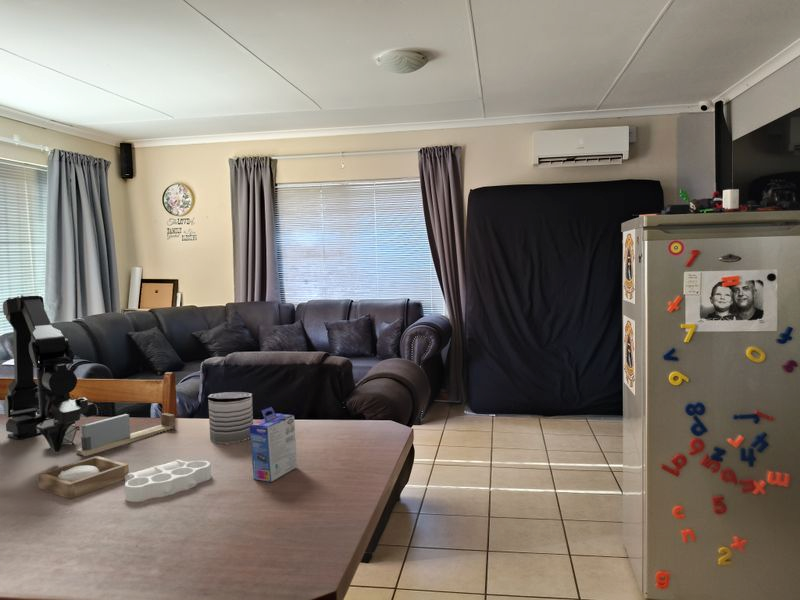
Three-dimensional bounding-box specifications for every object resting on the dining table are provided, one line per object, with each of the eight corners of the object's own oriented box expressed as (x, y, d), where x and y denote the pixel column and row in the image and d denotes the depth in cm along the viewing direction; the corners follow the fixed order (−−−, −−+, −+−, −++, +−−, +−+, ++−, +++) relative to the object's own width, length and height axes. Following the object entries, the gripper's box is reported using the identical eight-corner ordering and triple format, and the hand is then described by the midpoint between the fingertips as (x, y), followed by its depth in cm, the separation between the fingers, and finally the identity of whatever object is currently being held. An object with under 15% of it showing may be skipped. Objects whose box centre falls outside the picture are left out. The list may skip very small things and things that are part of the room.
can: (200, 440, 155) (198, 395, 154) (233, 428, 165) (231, 386, 164) (230, 446, 149) (228, 400, 148) (262, 434, 159) (261, 391, 158)
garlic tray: (39, 488, 125) (38, 474, 125) (97, 468, 136) (96, 455, 136) (70, 499, 118) (69, 484, 118) (129, 477, 129) (128, 464, 129)
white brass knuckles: (190, 467, 137) (222, 482, 126) (109, 490, 123) (138, 510, 113) (189, 452, 136) (222, 467, 126) (108, 475, 123) (137, 493, 113)
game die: (67, 460, 153) (64, 436, 147) (36, 450, 153) (32, 425, 147) (88, 435, 160) (86, 411, 154) (59, 424, 160) (56, 400, 154)
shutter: (81, 448, 147) (80, 425, 146) (126, 435, 157) (124, 413, 157) (87, 450, 146) (85, 426, 145) (131, 436, 156) (130, 414, 155)
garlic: (55, 493, 122) (53, 476, 122) (60, 482, 128) (59, 465, 128) (98, 487, 125) (96, 470, 125) (101, 476, 131) (100, 460, 131)
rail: (76, 453, 147) (75, 438, 146) (166, 426, 169) (165, 412, 168) (85, 456, 144) (84, 440, 144) (175, 428, 167) (174, 414, 166)
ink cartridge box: (278, 464, 136) (275, 402, 135) (298, 467, 133) (295, 404, 132) (250, 479, 127) (247, 413, 126) (271, 483, 124) (268, 416, 123)
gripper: (27, 400, 127) (32, 470, 128) (109, 383, 143) (112, 445, 144) (2, 395, 133) (7, 462, 134) (83, 379, 149) (87, 439, 150)
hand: (56, 452), depth 140 cm, fingers closed
